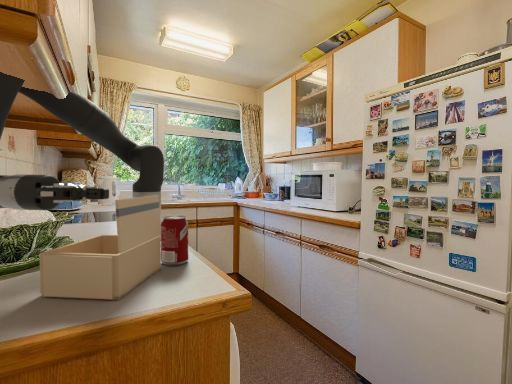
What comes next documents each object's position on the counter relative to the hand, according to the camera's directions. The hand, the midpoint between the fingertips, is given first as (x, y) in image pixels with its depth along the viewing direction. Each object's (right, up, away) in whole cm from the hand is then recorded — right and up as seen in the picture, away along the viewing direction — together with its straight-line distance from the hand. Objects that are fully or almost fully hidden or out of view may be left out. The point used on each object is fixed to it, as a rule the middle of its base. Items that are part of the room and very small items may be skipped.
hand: (106, 193), depth 56 cm
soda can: (+10, -18, +14) cm, 25 cm away
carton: (0, -18, +1) cm, 18 cm away
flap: (+7, -10, 0) cm, 13 cm away
